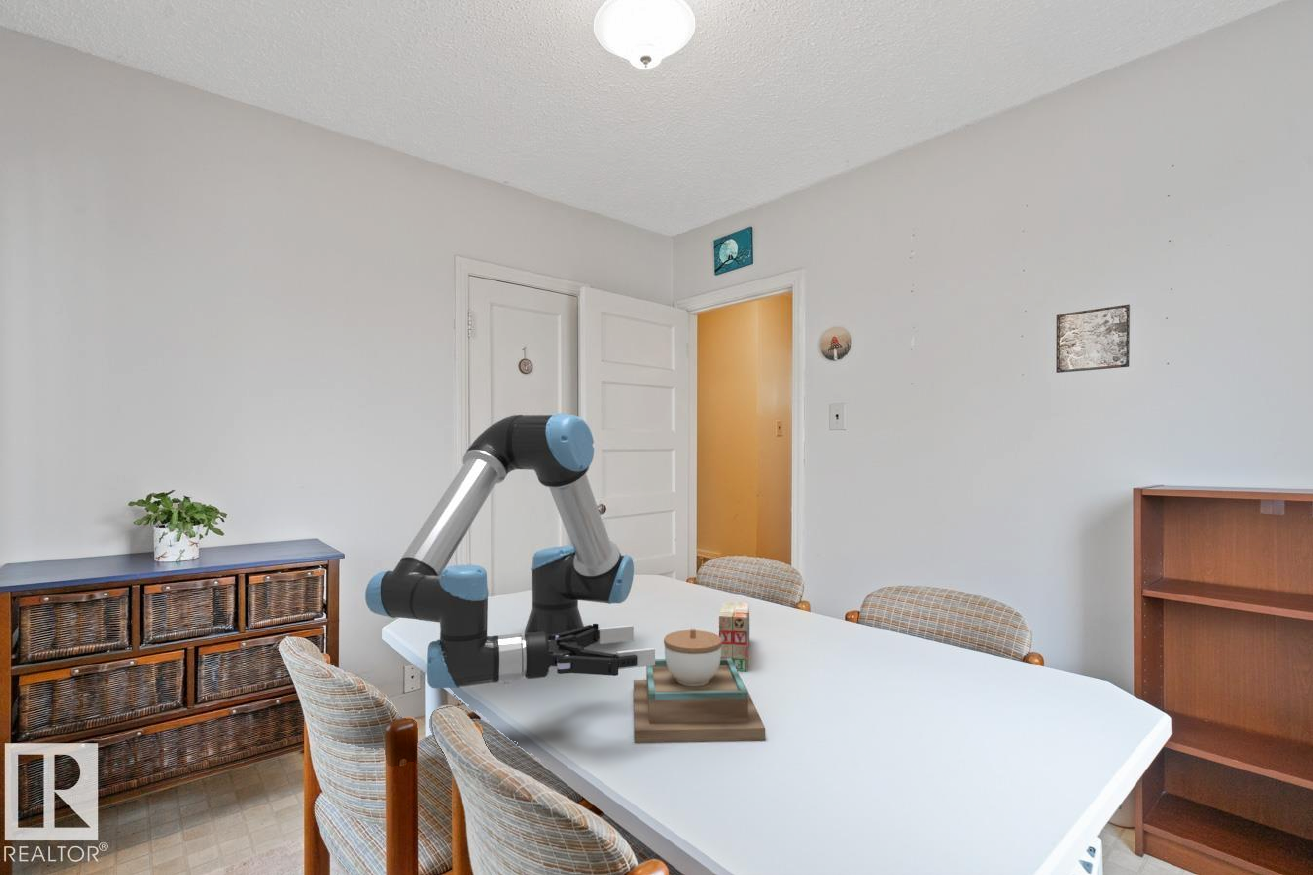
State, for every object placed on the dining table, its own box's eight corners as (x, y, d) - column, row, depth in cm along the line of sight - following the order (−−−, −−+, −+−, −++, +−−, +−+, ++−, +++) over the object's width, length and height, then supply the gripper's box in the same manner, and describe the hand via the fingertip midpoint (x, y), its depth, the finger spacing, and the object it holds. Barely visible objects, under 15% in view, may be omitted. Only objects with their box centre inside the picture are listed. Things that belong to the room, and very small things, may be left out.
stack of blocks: (724, 640, 156) (724, 592, 157) (749, 641, 155) (749, 593, 156) (718, 670, 135) (718, 614, 136) (747, 672, 134) (747, 616, 134)
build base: (633, 689, 124) (633, 655, 124) (741, 688, 125) (741, 653, 125) (634, 742, 102) (634, 700, 102) (765, 740, 103) (765, 698, 103)
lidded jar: (707, 666, 121) (708, 619, 121) (731, 687, 111) (731, 635, 111) (656, 673, 117) (656, 624, 117) (675, 694, 107) (675, 641, 107)
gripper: (517, 654, 117) (625, 643, 123) (531, 708, 93) (664, 691, 99) (517, 614, 117) (625, 605, 123) (531, 658, 93) (664, 644, 99)
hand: (643, 643), depth 111 cm, fingers open, 13 cm apart
